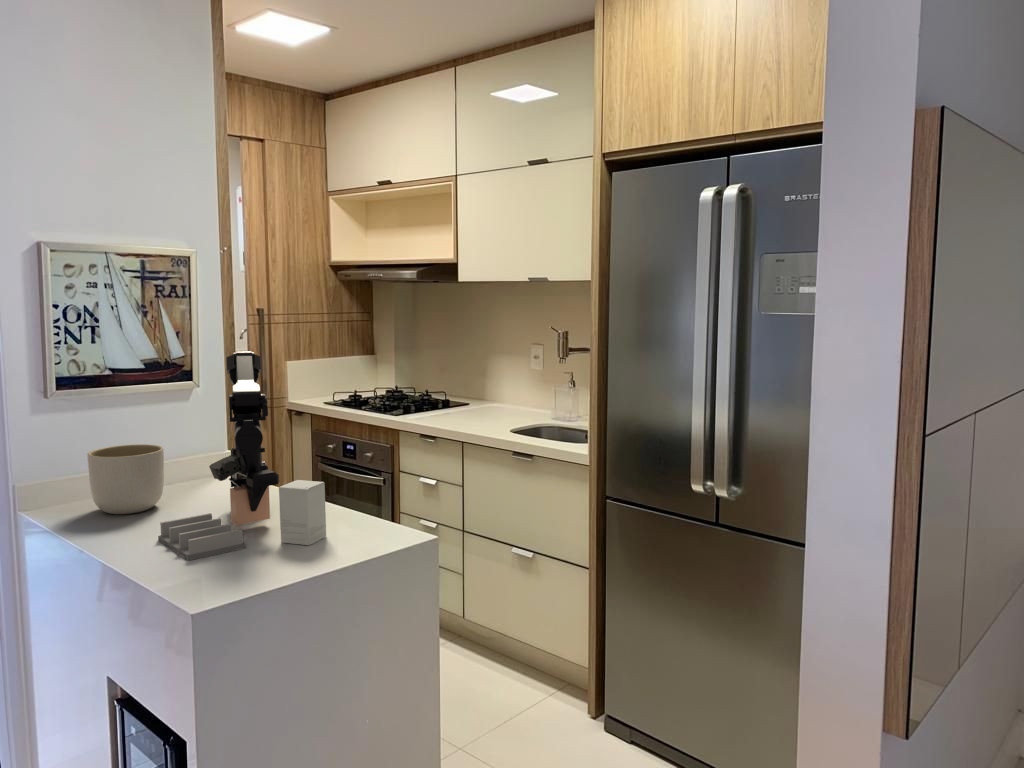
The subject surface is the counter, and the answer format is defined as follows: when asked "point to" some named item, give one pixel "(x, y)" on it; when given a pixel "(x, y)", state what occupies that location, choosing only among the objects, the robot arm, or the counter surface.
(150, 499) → the planter
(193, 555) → the dish rack
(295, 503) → the supplement box
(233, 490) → the tall clay brick
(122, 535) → the counter surface
